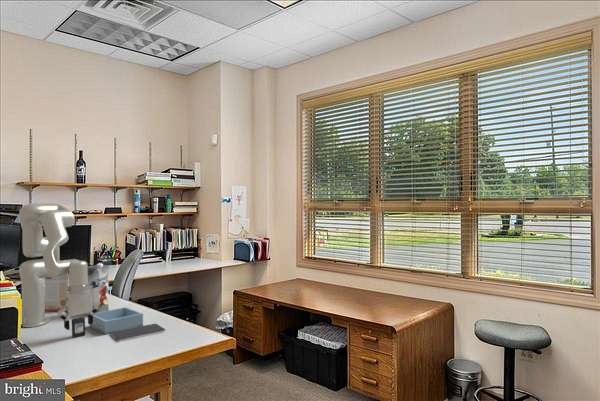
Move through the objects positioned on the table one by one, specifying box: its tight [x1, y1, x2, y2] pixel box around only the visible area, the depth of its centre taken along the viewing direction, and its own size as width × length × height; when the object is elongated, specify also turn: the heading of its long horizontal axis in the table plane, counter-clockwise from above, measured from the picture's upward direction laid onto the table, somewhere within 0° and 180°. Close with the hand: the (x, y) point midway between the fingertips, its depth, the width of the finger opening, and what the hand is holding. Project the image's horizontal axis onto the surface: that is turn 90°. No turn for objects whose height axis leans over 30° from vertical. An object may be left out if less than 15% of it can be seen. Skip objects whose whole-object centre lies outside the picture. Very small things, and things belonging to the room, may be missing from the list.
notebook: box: [109, 323, 166, 342], centre depth 192 cm, size 13×2×21 cm
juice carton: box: [85, 262, 110, 316], centre depth 225 cm, size 9×10×27 cm
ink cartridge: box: [71, 317, 86, 339], centre depth 188 cm, size 5×2×8 cm, turn 131°
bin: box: [89, 306, 144, 336], centre depth 203 cm, size 18×18×6 cm
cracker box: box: [44, 276, 69, 312], centre depth 232 cm, size 14×6×21 cm, turn 84°
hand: (79, 326), depth 188 cm, fingers open, 9 cm apart
